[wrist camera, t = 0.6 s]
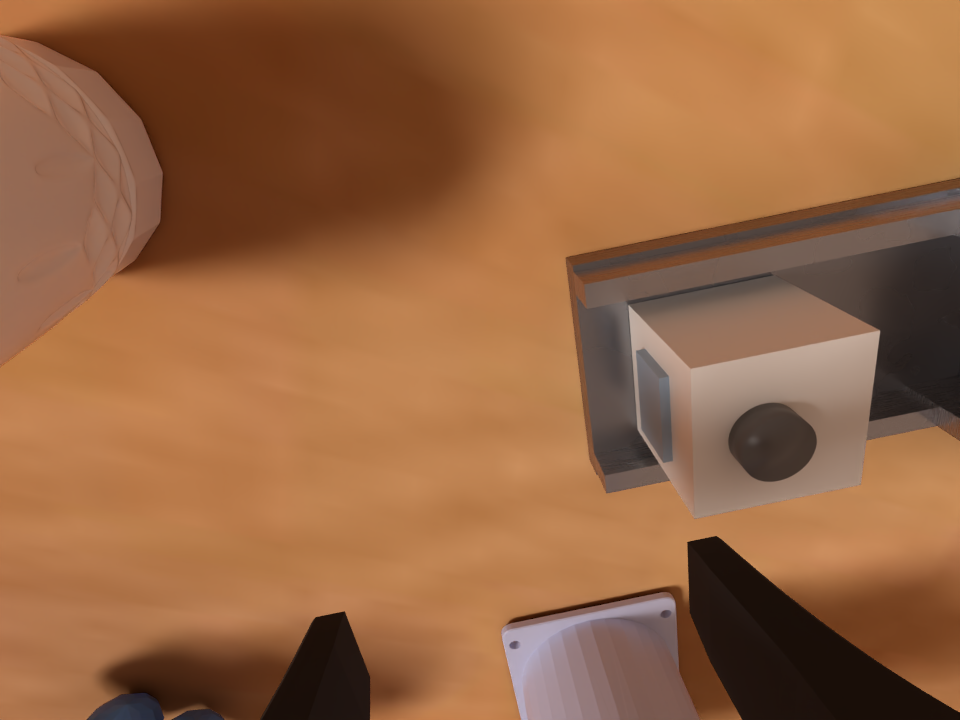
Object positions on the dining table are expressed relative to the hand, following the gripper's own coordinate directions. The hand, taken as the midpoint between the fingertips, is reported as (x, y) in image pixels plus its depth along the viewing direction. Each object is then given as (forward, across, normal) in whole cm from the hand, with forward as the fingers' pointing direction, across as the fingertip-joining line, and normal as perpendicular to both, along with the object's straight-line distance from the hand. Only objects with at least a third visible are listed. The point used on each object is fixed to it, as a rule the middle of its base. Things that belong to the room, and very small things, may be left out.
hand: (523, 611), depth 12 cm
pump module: (+9, -8, 0) cm, 12 cm away
